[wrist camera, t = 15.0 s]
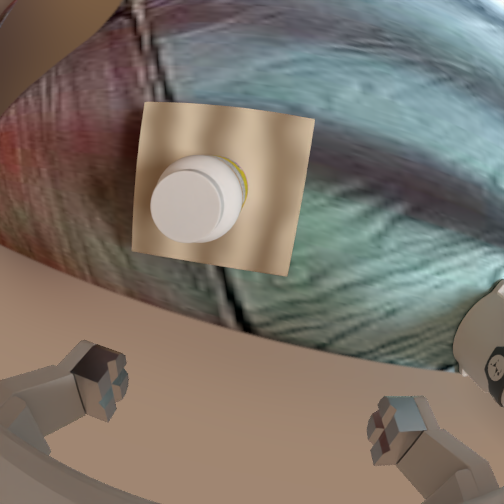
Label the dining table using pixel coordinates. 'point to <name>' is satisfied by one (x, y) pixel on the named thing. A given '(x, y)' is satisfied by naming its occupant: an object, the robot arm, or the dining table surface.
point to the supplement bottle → (199, 198)
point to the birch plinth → (252, 163)
